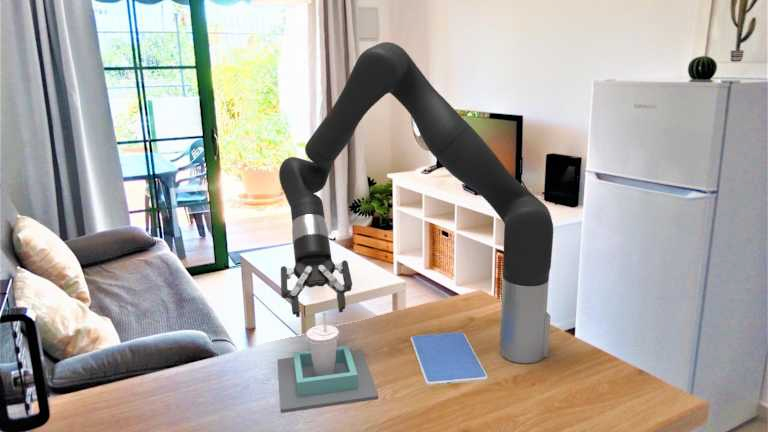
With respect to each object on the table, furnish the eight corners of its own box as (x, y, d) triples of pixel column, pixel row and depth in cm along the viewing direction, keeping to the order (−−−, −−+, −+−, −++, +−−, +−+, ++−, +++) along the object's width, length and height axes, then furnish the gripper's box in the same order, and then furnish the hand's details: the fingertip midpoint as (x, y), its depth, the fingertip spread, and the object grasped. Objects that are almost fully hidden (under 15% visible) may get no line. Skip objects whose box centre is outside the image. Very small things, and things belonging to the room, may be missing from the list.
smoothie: (335, 386, 111) (332, 320, 107) (304, 383, 112) (299, 318, 108) (344, 368, 117) (341, 305, 113) (314, 365, 118) (310, 303, 114)
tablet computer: (489, 382, 113) (489, 376, 112) (426, 388, 111) (426, 382, 111) (463, 336, 131) (463, 330, 131) (409, 340, 130) (409, 335, 129)
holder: (361, 351, 124) (361, 336, 123) (378, 398, 108) (378, 381, 107) (277, 361, 121) (276, 346, 120) (281, 412, 104) (279, 395, 103)
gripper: (276, 235, 116) (283, 311, 109) (345, 229, 119) (357, 302, 112) (277, 251, 123) (283, 324, 115) (343, 245, 126) (353, 315, 118)
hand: (319, 313), depth 114 cm, fingers open, 8 cm apart
